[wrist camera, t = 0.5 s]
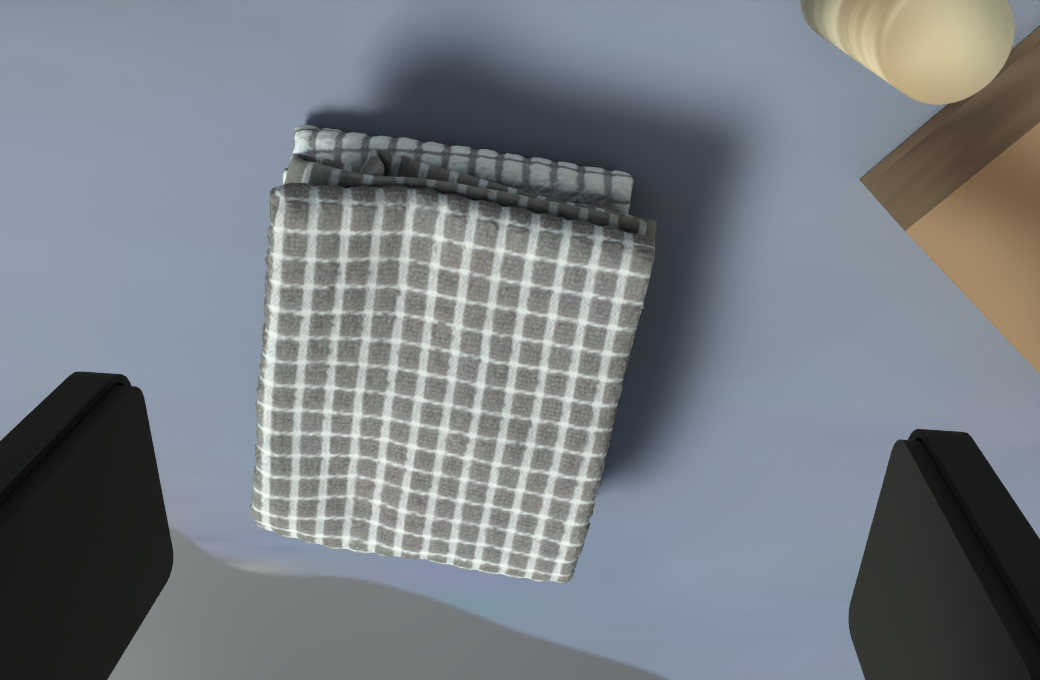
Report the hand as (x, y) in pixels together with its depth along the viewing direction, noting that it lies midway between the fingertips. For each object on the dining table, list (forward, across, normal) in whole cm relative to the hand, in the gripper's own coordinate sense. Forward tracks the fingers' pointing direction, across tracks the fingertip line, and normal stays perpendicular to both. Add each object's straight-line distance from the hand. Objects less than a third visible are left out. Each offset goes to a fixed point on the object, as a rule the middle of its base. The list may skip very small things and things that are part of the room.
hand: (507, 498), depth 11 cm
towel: (+28, +4, +12) cm, 30 cm away
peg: (+27, -10, -3) cm, 29 cm away
